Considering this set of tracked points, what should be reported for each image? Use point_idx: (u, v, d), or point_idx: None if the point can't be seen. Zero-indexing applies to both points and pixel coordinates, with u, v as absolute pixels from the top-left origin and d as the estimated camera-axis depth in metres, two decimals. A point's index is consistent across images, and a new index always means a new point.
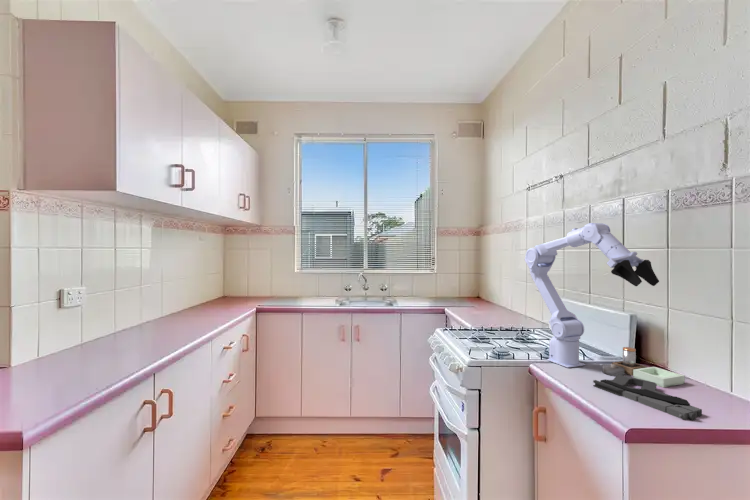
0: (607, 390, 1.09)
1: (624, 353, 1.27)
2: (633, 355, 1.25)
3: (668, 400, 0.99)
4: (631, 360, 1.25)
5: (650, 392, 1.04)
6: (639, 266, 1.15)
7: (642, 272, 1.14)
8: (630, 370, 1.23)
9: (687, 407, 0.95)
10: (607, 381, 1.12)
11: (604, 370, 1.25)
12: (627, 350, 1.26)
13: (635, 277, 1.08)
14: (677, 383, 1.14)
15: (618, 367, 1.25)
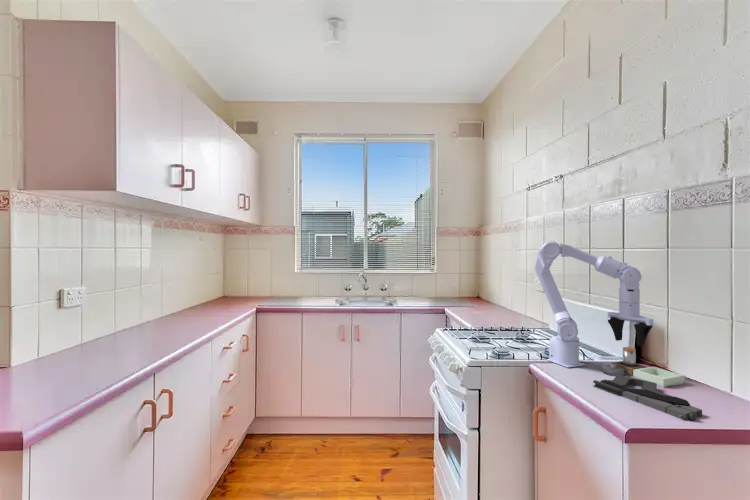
0: (607, 390, 1.09)
1: (624, 353, 1.27)
2: (633, 355, 1.25)
3: (668, 400, 0.98)
4: (631, 360, 1.25)
5: (650, 392, 1.04)
6: (619, 320, 1.30)
7: (618, 326, 1.30)
8: (630, 370, 1.23)
9: (687, 407, 0.95)
10: (607, 381, 1.12)
11: (604, 370, 1.25)
12: (627, 350, 1.26)
13: (644, 340, 1.23)
14: (677, 383, 1.14)
15: (618, 367, 1.25)
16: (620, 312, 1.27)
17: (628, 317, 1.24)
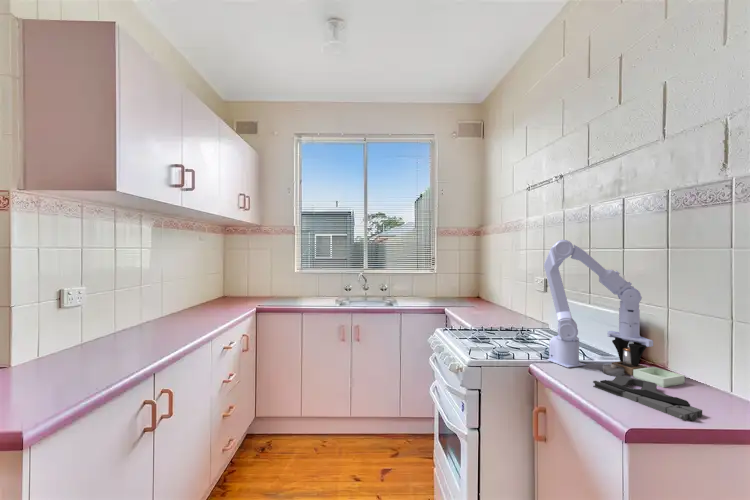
0: (607, 391, 1.09)
1: (624, 353, 1.27)
2: None
3: (668, 401, 0.98)
4: None
5: (650, 393, 1.04)
6: (624, 341, 1.29)
7: (622, 347, 1.29)
8: (630, 370, 1.23)
9: (687, 408, 0.95)
10: (607, 382, 1.12)
11: (604, 370, 1.25)
12: (627, 350, 1.26)
13: (638, 359, 1.25)
14: (677, 383, 1.14)
15: (618, 367, 1.25)
16: (620, 332, 1.27)
17: (628, 338, 1.25)
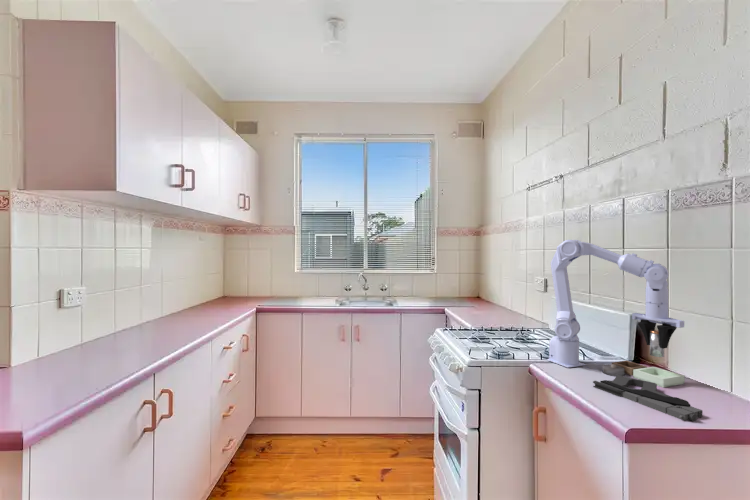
0: (607, 391, 1.09)
1: (652, 336, 1.18)
2: None
3: (668, 401, 0.98)
4: None
5: (650, 393, 1.03)
6: (650, 323, 1.20)
7: (649, 329, 1.20)
8: (630, 370, 1.23)
9: (687, 408, 0.94)
10: (607, 382, 1.12)
11: (604, 370, 1.25)
12: (655, 333, 1.17)
13: (667, 342, 1.16)
14: (677, 383, 1.14)
15: (618, 367, 1.25)
16: (646, 313, 1.19)
17: (656, 319, 1.16)
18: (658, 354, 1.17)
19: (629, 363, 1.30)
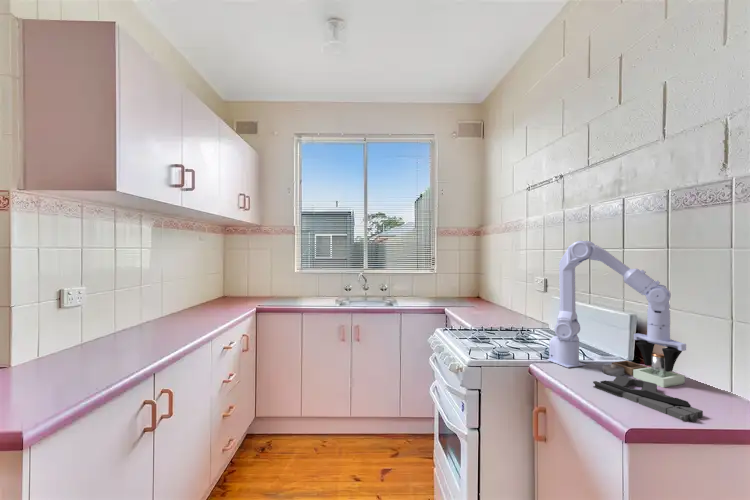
0: (607, 391, 1.09)
1: (653, 359, 1.18)
2: (663, 361, 1.16)
3: (669, 401, 0.98)
4: (661, 367, 1.16)
5: (650, 393, 1.03)
6: (649, 343, 1.21)
7: (647, 350, 1.21)
8: (630, 370, 1.23)
9: (688, 409, 0.94)
10: (607, 382, 1.12)
11: (604, 370, 1.25)
12: (657, 356, 1.17)
13: (672, 365, 1.15)
14: (677, 383, 1.14)
15: (618, 367, 1.25)
16: (648, 335, 1.18)
17: (658, 341, 1.16)
18: None
19: (629, 363, 1.30)
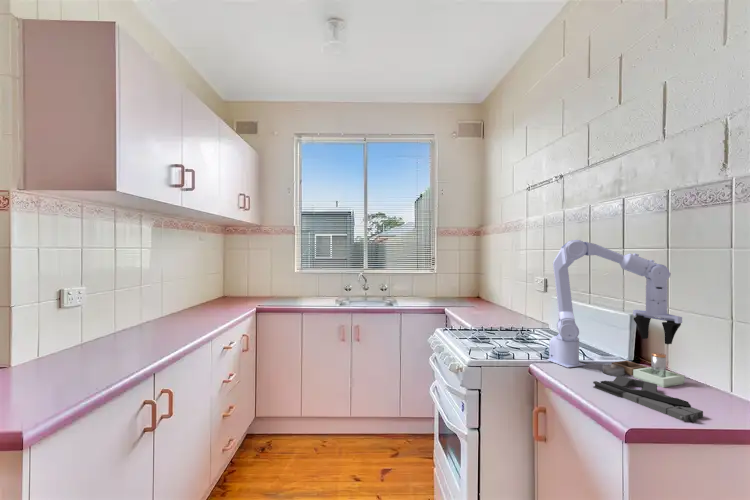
0: (607, 391, 1.08)
1: (653, 359, 1.18)
2: (663, 361, 1.16)
3: (669, 402, 0.98)
4: (661, 367, 1.16)
5: (650, 393, 1.03)
6: (645, 318, 1.29)
7: (644, 324, 1.29)
8: (630, 370, 1.23)
9: (688, 409, 0.94)
10: (607, 382, 1.11)
11: (604, 370, 1.25)
12: (657, 356, 1.17)
13: (672, 338, 1.22)
14: (677, 383, 1.14)
15: (618, 367, 1.25)
16: (647, 310, 1.26)
17: (656, 315, 1.23)
18: None
19: (629, 363, 1.30)
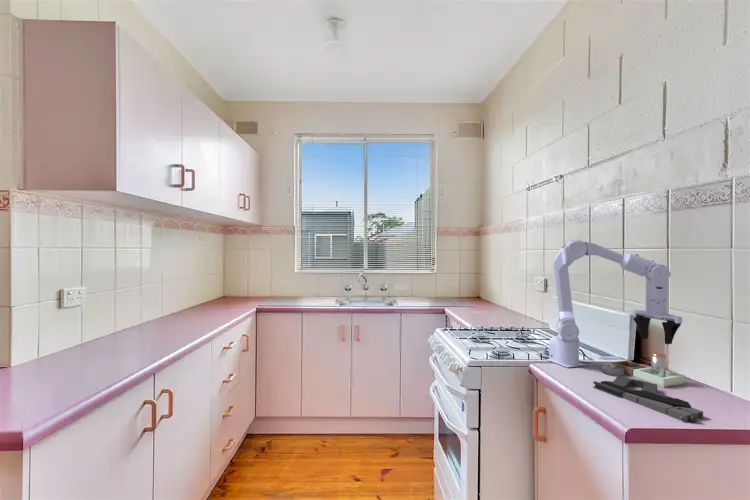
0: (607, 391, 1.08)
1: (653, 359, 1.18)
2: (663, 361, 1.16)
3: (669, 402, 0.97)
4: (661, 367, 1.16)
5: (651, 394, 1.03)
6: (645, 318, 1.29)
7: (644, 324, 1.29)
8: (630, 370, 1.23)
9: (688, 409, 0.94)
10: (607, 382, 1.11)
11: (604, 370, 1.25)
12: (657, 356, 1.17)
13: (672, 338, 1.22)
14: (677, 383, 1.14)
15: (618, 367, 1.25)
16: (647, 310, 1.26)
17: (656, 315, 1.23)
18: None
19: (629, 363, 1.30)
